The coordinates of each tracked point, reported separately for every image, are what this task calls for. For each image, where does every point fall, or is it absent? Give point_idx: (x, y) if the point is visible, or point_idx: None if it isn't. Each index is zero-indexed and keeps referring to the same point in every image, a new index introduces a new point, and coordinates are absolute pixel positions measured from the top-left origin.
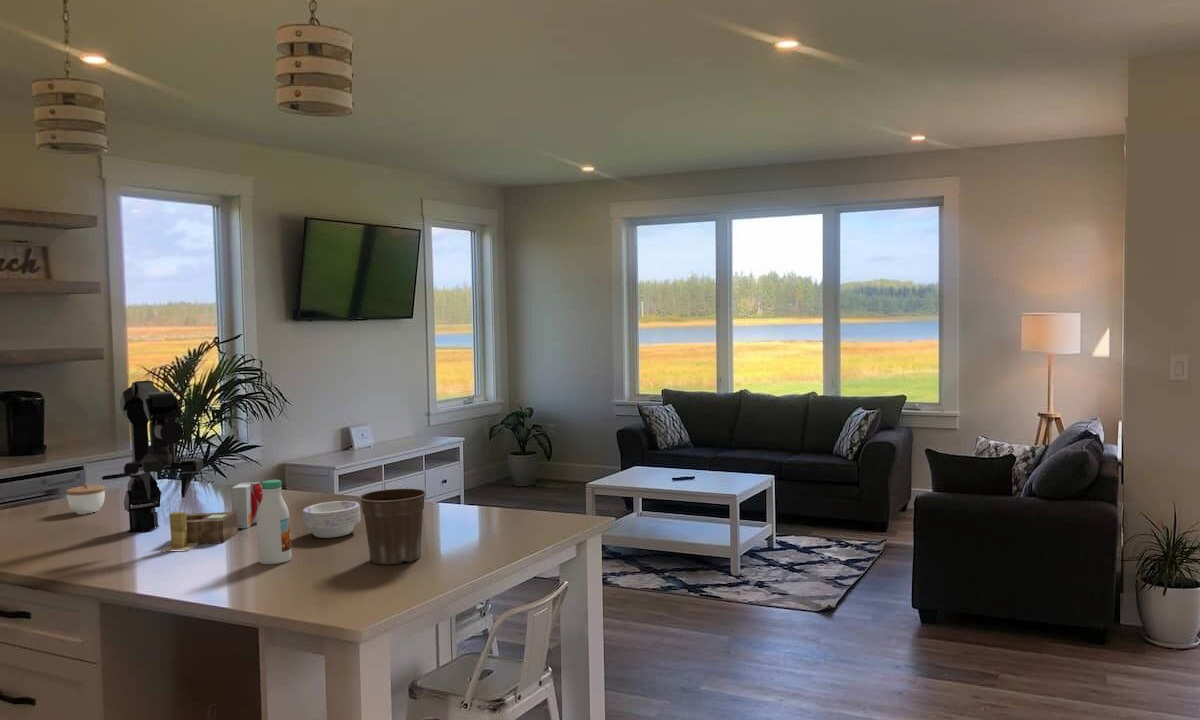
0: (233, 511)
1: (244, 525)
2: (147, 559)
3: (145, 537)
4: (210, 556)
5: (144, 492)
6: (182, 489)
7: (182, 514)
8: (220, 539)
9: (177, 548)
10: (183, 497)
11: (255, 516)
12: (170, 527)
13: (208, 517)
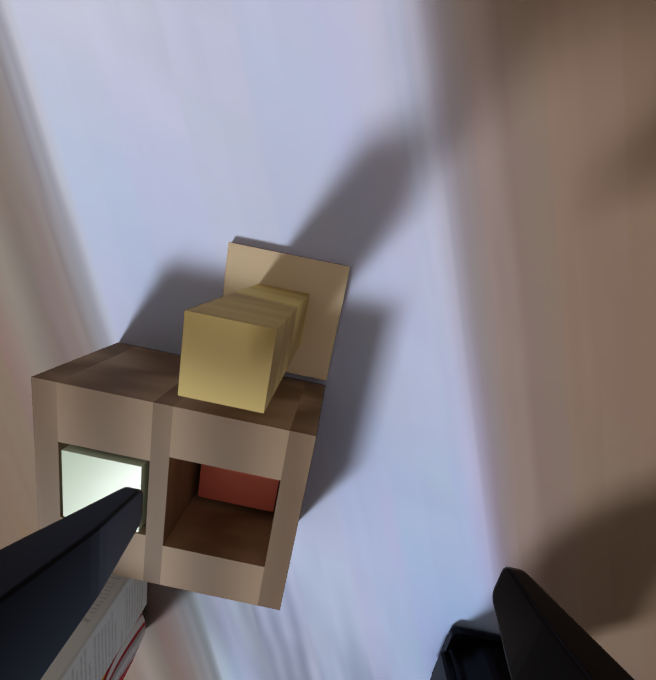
0: (96, 617)
1: None
2: (387, 136)
3: (456, 550)
4: (96, 83)
5: (597, 652)
6: (33, 553)
7: (187, 331)
8: (121, 348)
9: (282, 282)
10: (125, 489)
11: None
12: (294, 311)
13: (136, 479)
